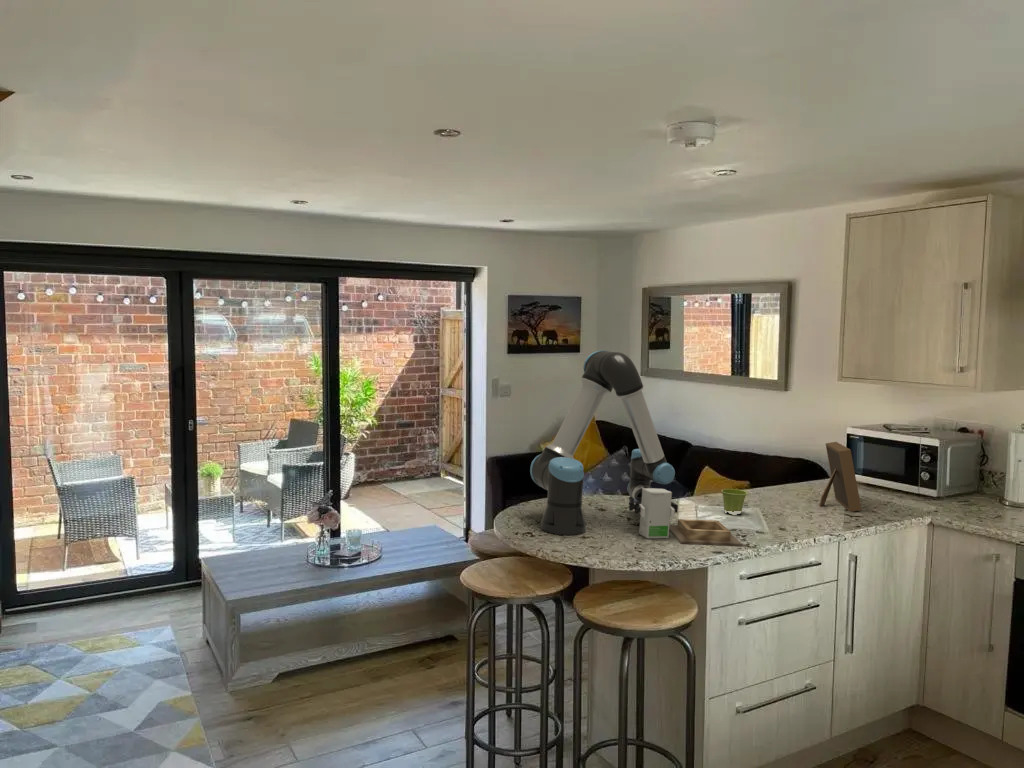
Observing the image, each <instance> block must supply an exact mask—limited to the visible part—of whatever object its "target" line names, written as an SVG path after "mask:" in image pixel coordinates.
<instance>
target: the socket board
mask: <svg viewBox="0 0 1024 768" xmlns="http://www.w3.org/2000/svg"><path fill="white" fill-rule="evenodd" d="M669 533H671V535H673V537H674V538H675V539H676V540H677V541H678V543H679V544H680V545H703V546H704V545H705V546H724V547H726V546H730V547H731V546H732V547H743V543H742V542H741V541H740V540H739V539H738V538H737V537H735V536H734V535H733V534H732V533H731V531H730V530H729V529H728V527H726V526H725V525H724V524H723V523H721V522H720V521H719V520H713V519H712V520H707V519H684V518H682V519H681V518H678V519H677V525H675V524H674V525H673V524H672V525H671V524H670V525H669Z"/></svg>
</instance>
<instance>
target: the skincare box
mask: <svg viewBox="0 0 1024 768" xmlns="http://www.w3.org/2000/svg"><path fill="white" fill-rule="evenodd" d="M672 496H673V492H672V491H669V490H667V489H665V488H656V487H655V488H654V487H653V488H652V487H650V488H642V502H641V504H642V505H643V507H644V508H645V517H642V516H641V515H640V519H639V529H638V530H639V535H641V536H642V537H644V538H645V539H669V538H670V537H669V536H670V531H669V525H671V524H670V523H671V521H670V520H671V516H670V511H671V502H672Z"/></svg>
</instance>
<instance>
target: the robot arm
mask: <svg viewBox="0 0 1024 768" xmlns="http://www.w3.org/2000/svg"><path fill="white" fill-rule="evenodd" d="M580 380H581V383H582V385H581V387H580V389H579V391H578V393H577V395H576V397H575V399H574V401H573V403H572V404H571V407H570V408H569V410H568V413H567V414H566V416H565V418H564V420H563V422H562V424H561V425H560V427H559V430H558V432H557V433H556V435H555V437H554V439H553V440H552V443H550V444H548V445H545V446H544V449H543V451H542V453H540V454H538V455H536V456H535V457H534V459H533V460H532V461H531V464H530V468H529V472H530V477H531V480H532V481H533V482H534V483H535V484H536V485H537V486H538V487H539V488H542V489H544V490H546V491H547V503H546V507H545V509H544V513H543V515H542V518H541V520H540V529H541V530H542V531H544V532H547V533H550V534H554V535H562V536H571V535H572V536H573V535H574V536H575V535H580V534H583V533H585V532H586V529H587V523H586V520H585V516H584V512H583V508H582V505H583V488H584V476H585V472H584V465H583V463H582V462H581V461H580V460H577V459H576V458H575V457H574V454H575V453H576V451H577V449H578V447H579V445H580V443H581V441H582V439H583V438H584V435H585V434H586V432H587V430H588V428H589V426H590V424H591V422H592V420H593V418H594V416H595V414H596V412H597V411H598V408H599V407H600V405H601V403H602V401H603V398H604V397H605V396H608V395H610V394H611V392H612V391H613V390H614V392H615V395H616V396H617V397H618V398H620V399H621V402H622V405H623V407H624V410H625V413H626V416H627V419H628V421H629V424H630V425H629V426H630V427H631V430H632V433H633V436H634V438H635V441H636V444H637V446H638V448H635V449H634V448H633V449H632V451H631V455H630V456H631V458H630V474H629V475H630V476H629V482H628V485H627V486H626V487H627V488H626V489H627V493H628V495H629V496H628V505H629V506H628V507H629V508H628V510H629V511H634V514H640V516H642V517H645V508H644V507H643V505H642V504H641V502H642V488H651V481H652V482H655V483H656V484H661V485H668V484H670V483H671V482H672V481H674V479H675V477H676V476H675V475H676V471H675V468H674V467H673V465H672V464H670V463H669V462H667V461H668V460H667V459H666V456H665V454H664V450H663V448H662V445H661V442H660V439H659V437H658V434H657V430H656V428H655V425H654V423H653V420H652V417H651V414H650V411H649V408H648V405H647V403H646V402H647V401H646V399H645V396H644V394H643V389H644V384H643V382H642V379H641V376H640V373H639V371H638V369H637V367H636V365H635V363H634V362H633V361H632V359H631V358H630V357H629V356H628V355H626V354H624V353H623V352H620V351H609V350H598V351H597V350H596V351H594V352H592V353H590V354H589V355H588V356H587V357H586V358H585V361H584V364H583V374H582V376H581V377H580ZM678 508H679V505H678V504H676V503H675V502H673V501H671V511H670V518H671V519H675V514H676V513H678Z"/></svg>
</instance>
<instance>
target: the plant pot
mask: <svg viewBox="0 0 1024 768" xmlns="http://www.w3.org/2000/svg"><path fill="white" fill-rule="evenodd" d="M721 494H722V497H723V511H724V510H726V511H732V512H734V511H743V507H744V502H745V499H746V496H747V495H748V492H747V491H745V490H742V489H736V488H735V489H734V488H723V489H721Z"/></svg>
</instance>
